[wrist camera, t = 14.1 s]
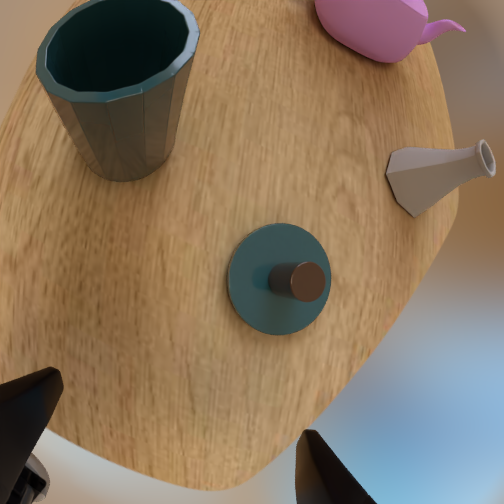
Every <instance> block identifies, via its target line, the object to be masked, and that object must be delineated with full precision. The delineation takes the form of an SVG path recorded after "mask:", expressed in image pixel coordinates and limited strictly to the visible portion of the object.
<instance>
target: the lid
mask: <svg viewBox="0 0 504 504" xmlns="http://www.w3.org/2000/svg"><path fill="white" fill-rule="evenodd" d="M227 287H228V293H229V297H230V300H231V303H232V305H233V307H234V309H235V311H236V312H237V313H238V315H239V316H240V317H241V318H242V319H243V320H244V321H245V322H246V323H247V324H248V325H250V326H251V327H253V328H254V329H256V330H258V331H260V332H263V333H266V334H270V335H287V334H291V333H294V332H297V331H299V330H301V329H303V328H305V327H306V326H308V325H309V324H310V323H311V322H313V321H314V320H315V319H316V318H317V316H318V315H319V314H320V312H321V311H322V309H323V308H324V306H325V304H326V301H327V299H328V296H329V292H330V287H331V270H330V264H329V261H328V258H327V255H326V253H325V251H324V249H323V247H322V246H321V244H320V243H319V242H318V241H317V239H316V238H315V237H314V236H313V235H311V234H310V233H309V232H307V231H306V230H304V229H302V228H300V227H298V226H295V225H291V224H284V223H277V224H270V225H267V226H264V227H261V228H259V229H257V230H255V231H253V232H252V233H250V234H249V235H248V236H247V237H245V238H244V239H243V240H242V242H241V243H240V244H239V245H238V247H237V248H236V250H235V251H234V253H233V256H232V258H231V260H230V264H229V267H228V273H227Z"/></svg>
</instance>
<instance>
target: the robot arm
mask: <svg viewBox="0 0 504 504" xmlns="http://www.w3.org/2000/svg"><path fill="white" fill-rule="evenodd" d="M63 389H64V385H63V381H62V377H61V373H60V371H59V370H58V369H56V368H54V367H47V368H44V369H42V370H39V371H36V372H34V373H31V374H28V375H26V376H23V377H20V378H17V379H15V380H12V381H9V382H6V383H4V384H1V385H0V504H32V502H33V501H34V500H35V499H36V497H37V496H38V495H39V494H40V493H41V491H42V490H43V489H44V488H45V487H46V484H47V482H46V481H45V480H44V479H43V478H41V477H40V476H39V475H37V474H36V473H34V472H33V471H32V470H30V469H29V468H28V467H27V466H25V463H26V462H27V460H28V458H29V456H30V454H31V452H32V450H33V449H34V447H35V445H36V443H37V441H38V440H39V438H40V436H41V434H42V433H43V431H44V429H45V427H46V426H47V424H48V422H49V420H50V418H51V416H52V414H53V412H54V410H55V407H56V405H57V403H58V401H59V398H60V396H61V394H62V392H63ZM295 489H296V500H297V504H377V503H376V502H375V501H374V500H373V499H372V498H371V496H370V495H368V494H367V492H366V491H365V490H364V489H363V487H362V486H361V485H360V484H359V483H358V481H357V480H356V479H355V478H354V477H353V476H352V474H351V473H350V472H349V471H348V470H347V468H346V467H345V466H344V465H343V463H342V462H341V461H340V460H339V458H338V457H337V456H336V455H335V453H334V452H333V451H332V450H331V448H330V447H329V446H328V445H327V443H326V442H325V441H324V440H323V438H322V437H321V436H320V434H319V433H318V432H317V431H316V430H309V429H305V430H304V431H303V432H302V434H301V436H300V438H299V440H298V443H297V446H296V469H295Z"/></svg>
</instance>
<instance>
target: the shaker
mask: <svg viewBox="0 0 504 504" xmlns="http://www.w3.org/2000/svg"><path fill="white" fill-rule="evenodd" d="M199 36H200V30H199V27H198V25H197V22H196V19H195V16H194V14H193V13H192V12H191V11H190V10H189V9H188V8H186V7H185V6H184V5H183V4H182V3H181V2H179V1H178V0H90V1H88V2H86V3H84V4H82V5H80V6H78V7H76V8H74V9H72V10H71V11H69V12H68V13H67V14H66V15H65V16H64V17H62V18H61V19H60V20H59V21H58V22H57V23H56V24H55V25H53V26H52V27H51V29H50V30H49V31H48V33H47V35H46V36H45V38H44V40H43V42H42V43H41V45H40V47H39V48H38V51H37V60H36V75H37V77H38V79H39V81H40V83H41V85H42V87H43V89H44V91H45V93H46V95H47V97H48V99H49V100H50V102H51V104H52V106H53V108H54V110H55V112H56V113H57V115H58V117H59V119H60V121H61V122H62V124H63V126H64V128H65V129H66V131H67V133H68V135H69V136H70V138H71V140H72V141H73V143H74V145H75V147H76V148H77V150H78V152H79V153H80V155H81V156H82V158H83V159H84V161H85V162H86V164H87V165H88V167H89V168H90V169H91V170H92V171H93V172H94V173H95V174H97V175H98V176H100V177H102V178H104V179H107V180H110V181H116V182H128V181H134V180H138V179H140V178H143V177H145V176H147V175H149V174H151V173H152V172H154V171H155V170H156V169H158V168H159V167H160V166H161V165H162V164H163V163H164V162H165V160H166V159H167V158H168V156H169V154H170V152H171V150H172V148H173V146H174V142H175V137H176V132H177V127H178V122H179V117H180V112H181V108H182V103H183V99H184V95H185V91H186V86H187V82H188V78H189V74H190V70H191V67H192V63H193V59H194V55H195V52H196V48H197V44H198V40H199Z"/></svg>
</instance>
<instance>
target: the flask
mask: <svg viewBox="0 0 504 504" xmlns="http://www.w3.org/2000/svg"><path fill="white" fill-rule="evenodd" d="M495 174H496V162H495V159H494V157H493V154H492V151H491V149H490V147H489V146H488V144H487V143H486V141H485V140H484V139H483V140H481V141H478V142H477V143H476V146H473V147H469V148H464V149H455V150H447V149H430V148H419V147H405V148H402V149H400V150H397V151H394V152H392V155H391V158H390V162H389V165H388V169H387V172H386V175H387V177H388V180H389V182H390V185H391V187H392V190H393V192H394V195H395V197H396V200H397V202H398V203H399V204H400V205H401V206H402V207H404V208H405V209H406V210H407V211H408V212H409V213H410V214H411V215H412V216H413V217H414V218H415V217H417V216H418V215H420V214H421V213H423V212H424V211H426V210H427V209H429V208H430V207H431V206H433V205H434V204H435V203H437V202H438V201H439V200H440V199H442V198H443V197H444V196H446V195H447V194H448V193H450V192H451V191H452V190H454V189H455V188H456V187H458V186H459V185H461V184H463V183H465V182H467V181H469V180H471V179H473V178H477V177H480V176H486V177H488V178H491V177H493V176H494V175H495Z"/></svg>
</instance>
